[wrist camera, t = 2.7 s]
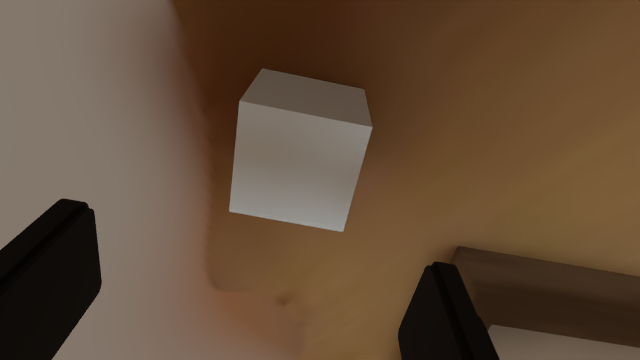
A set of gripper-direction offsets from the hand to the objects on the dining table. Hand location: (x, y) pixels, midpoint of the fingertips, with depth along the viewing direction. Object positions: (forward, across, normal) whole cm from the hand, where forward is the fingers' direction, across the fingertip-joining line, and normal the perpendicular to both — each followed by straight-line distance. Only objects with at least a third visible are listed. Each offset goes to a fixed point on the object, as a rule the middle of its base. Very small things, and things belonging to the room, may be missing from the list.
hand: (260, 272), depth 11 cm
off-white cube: (+10, -1, -1) cm, 10 cm away
